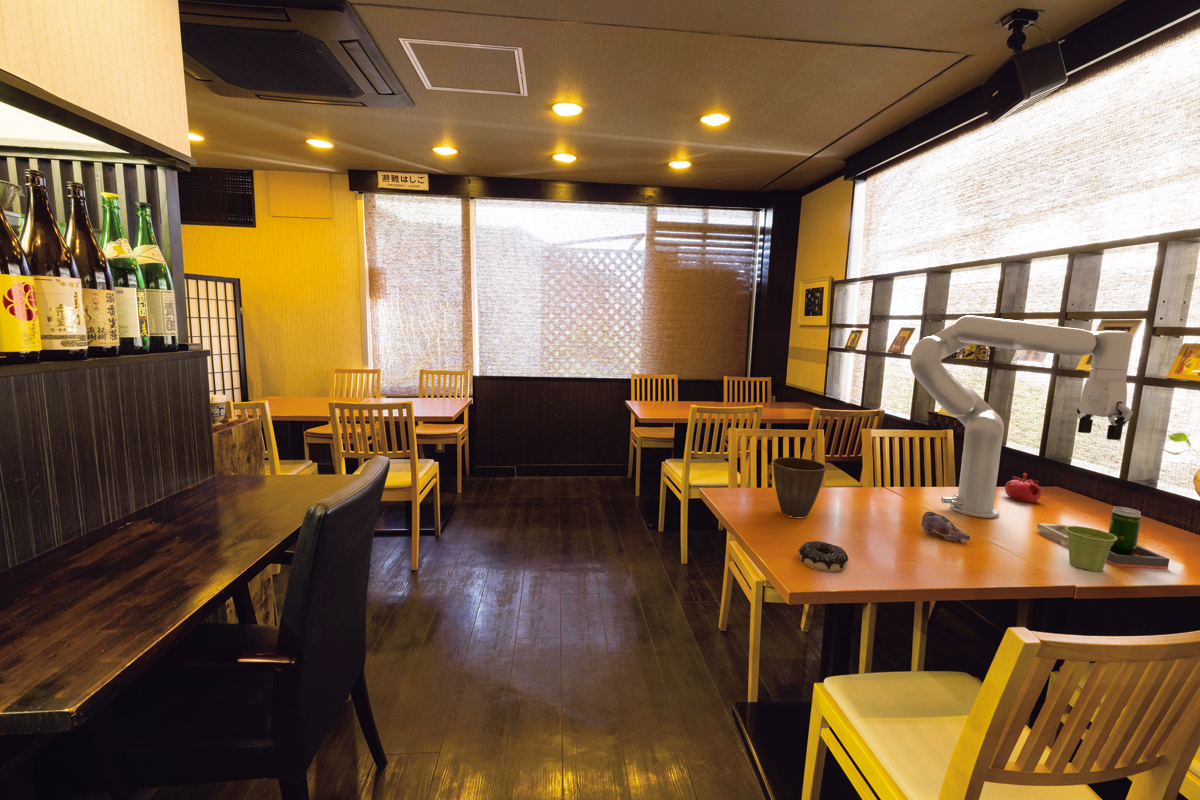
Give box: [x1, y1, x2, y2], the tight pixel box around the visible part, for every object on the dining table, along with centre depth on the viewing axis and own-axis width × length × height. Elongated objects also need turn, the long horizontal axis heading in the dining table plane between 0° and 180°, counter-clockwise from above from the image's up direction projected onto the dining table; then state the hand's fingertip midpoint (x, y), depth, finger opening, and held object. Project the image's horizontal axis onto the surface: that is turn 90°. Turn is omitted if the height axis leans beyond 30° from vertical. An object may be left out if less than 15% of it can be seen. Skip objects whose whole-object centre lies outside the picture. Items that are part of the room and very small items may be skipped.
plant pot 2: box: [1065, 525, 1117, 572], centre depth 130 cm, size 9×9×9 cm
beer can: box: [1108, 506, 1142, 556], centre depth 136 cm, size 5×5×12 cm
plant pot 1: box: [772, 457, 827, 518], centre depth 161 cm, size 15×15×16 cm
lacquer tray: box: [1105, 544, 1170, 570], centre depth 137 cm, size 12×12×3 cm
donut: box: [797, 540, 849, 573], centre depth 129 cm, size 11×12×4 cm
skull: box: [920, 511, 971, 544], centre depth 147 cm, size 12×8×6 cm, turn 25°
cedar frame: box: [1036, 523, 1077, 547], centre depth 148 cm, size 10×10×2 cm
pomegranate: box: [1004, 472, 1043, 504], centre depth 183 cm, size 10×10×9 cm
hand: (1098, 436), depth 151 cm, fingers open, 9 cm apart
